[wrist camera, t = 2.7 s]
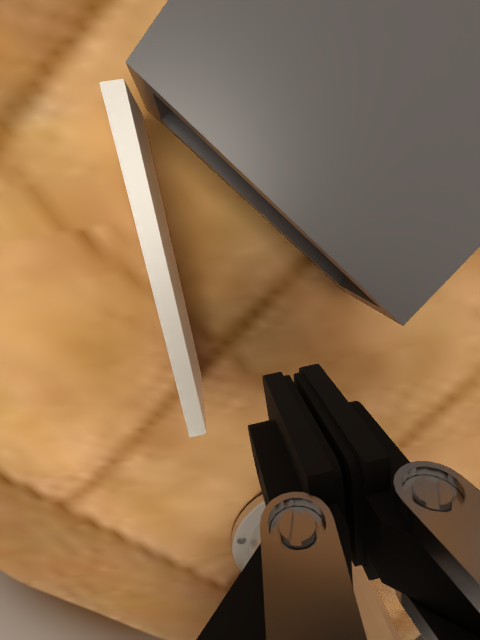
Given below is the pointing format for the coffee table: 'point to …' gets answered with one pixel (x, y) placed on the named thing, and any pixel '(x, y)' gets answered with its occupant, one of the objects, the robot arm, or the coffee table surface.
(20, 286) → the coffee table surface
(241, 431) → the coffee table surface
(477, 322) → the coffee table surface
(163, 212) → the side door
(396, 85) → the gray cabinet
